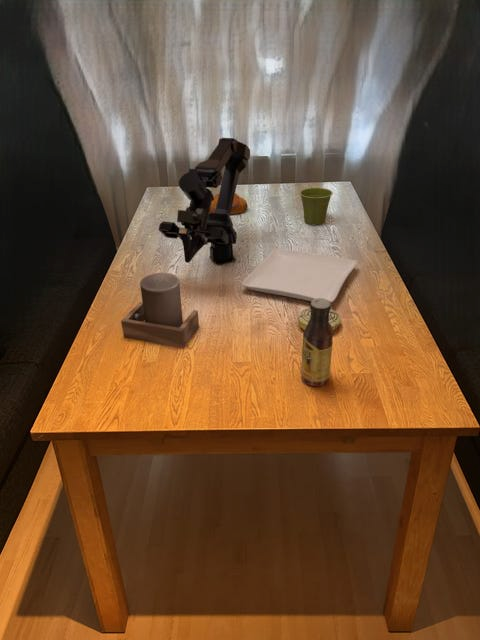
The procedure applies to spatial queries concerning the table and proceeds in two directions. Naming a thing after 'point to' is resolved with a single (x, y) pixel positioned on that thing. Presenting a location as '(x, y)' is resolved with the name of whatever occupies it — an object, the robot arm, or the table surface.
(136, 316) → the holder
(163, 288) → the pillar candle
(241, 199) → the croissant
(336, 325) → the decorated donut
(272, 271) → the square plate
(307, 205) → the plant pot
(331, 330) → the sauce bottle
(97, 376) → the table surface
